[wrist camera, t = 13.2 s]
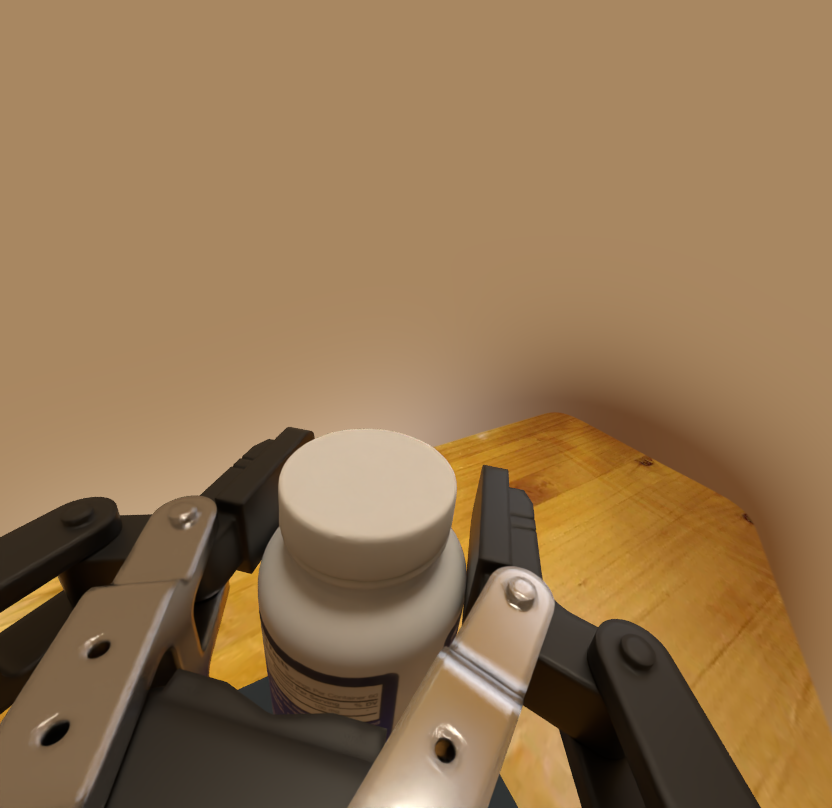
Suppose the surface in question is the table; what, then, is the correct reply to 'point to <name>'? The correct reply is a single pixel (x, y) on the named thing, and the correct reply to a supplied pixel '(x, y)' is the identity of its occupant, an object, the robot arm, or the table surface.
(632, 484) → the table surface
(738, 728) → the table surface
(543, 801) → the table surface
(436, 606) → the pill bottle
